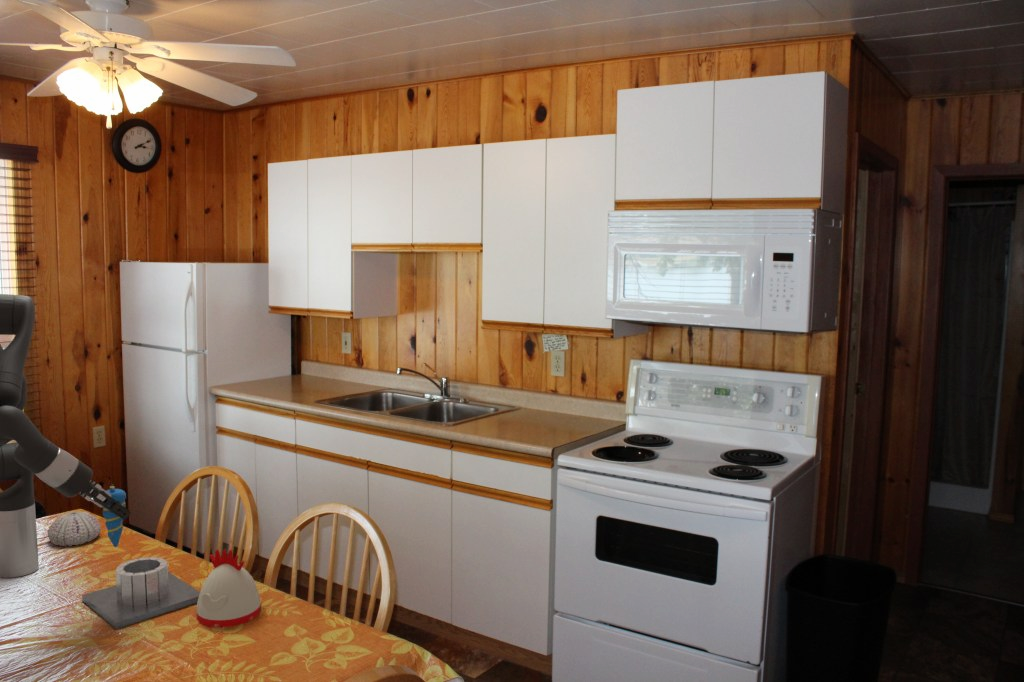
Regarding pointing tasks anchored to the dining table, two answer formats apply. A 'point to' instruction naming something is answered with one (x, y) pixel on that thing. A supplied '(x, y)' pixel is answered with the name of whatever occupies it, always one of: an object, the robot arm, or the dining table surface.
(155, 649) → the dining table surface
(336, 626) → the dining table surface
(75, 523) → the sea urchin shell
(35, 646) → the dining table surface
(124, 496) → the ornament
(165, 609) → the tube on square plate
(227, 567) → the kitchen timer
